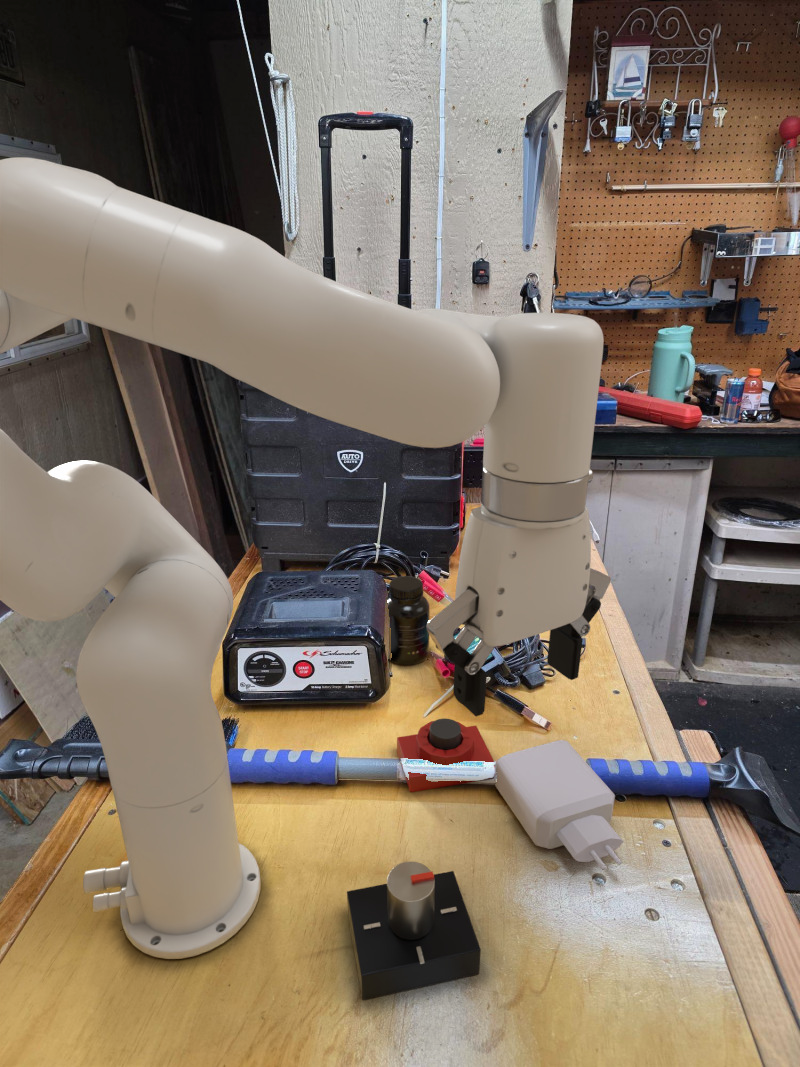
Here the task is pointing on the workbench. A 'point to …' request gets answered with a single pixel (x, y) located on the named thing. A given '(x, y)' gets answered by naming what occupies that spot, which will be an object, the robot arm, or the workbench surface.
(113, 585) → the robot arm
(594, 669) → the workbench surface
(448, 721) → the button
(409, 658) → the supplement bottle
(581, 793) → the charger
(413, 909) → the dial
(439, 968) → the black flat block
